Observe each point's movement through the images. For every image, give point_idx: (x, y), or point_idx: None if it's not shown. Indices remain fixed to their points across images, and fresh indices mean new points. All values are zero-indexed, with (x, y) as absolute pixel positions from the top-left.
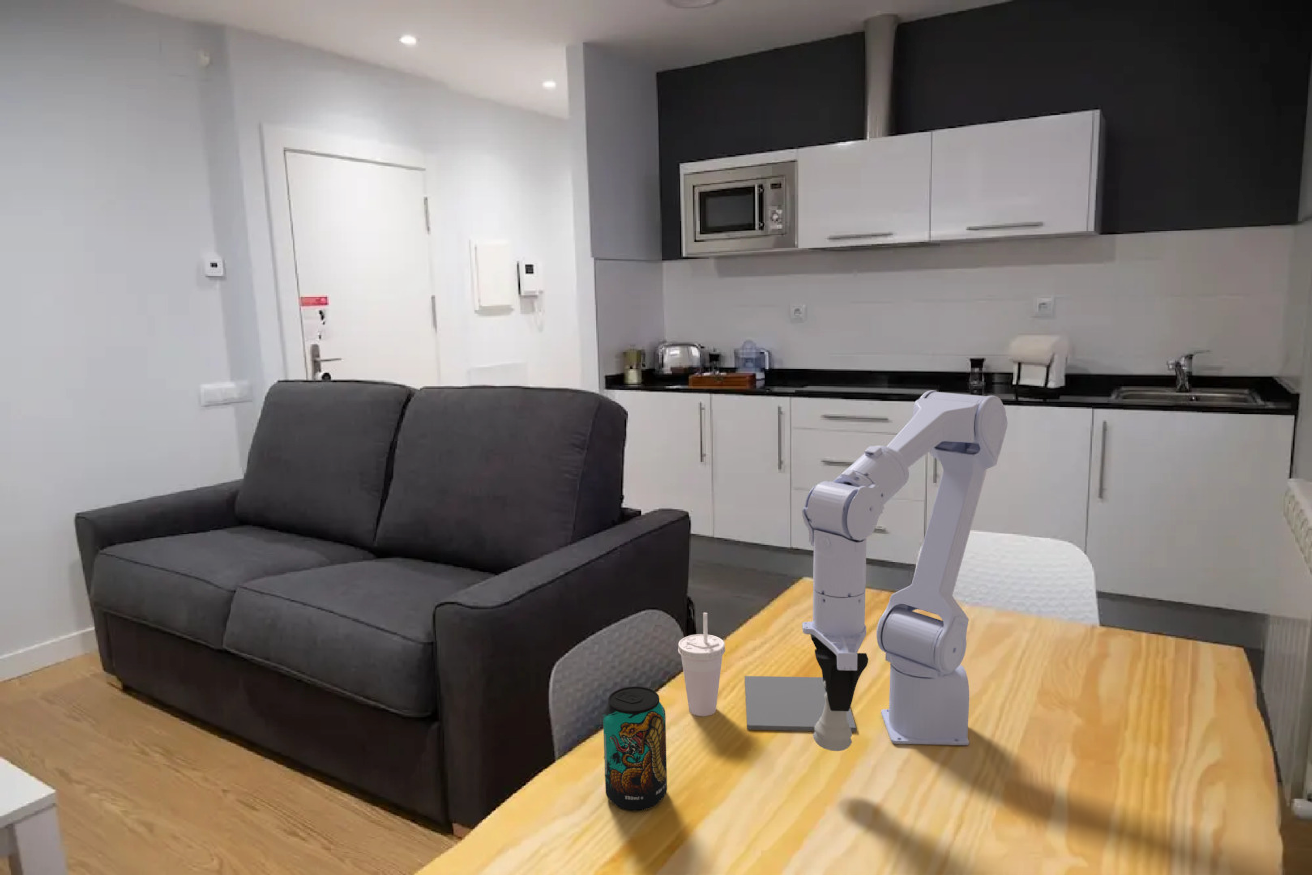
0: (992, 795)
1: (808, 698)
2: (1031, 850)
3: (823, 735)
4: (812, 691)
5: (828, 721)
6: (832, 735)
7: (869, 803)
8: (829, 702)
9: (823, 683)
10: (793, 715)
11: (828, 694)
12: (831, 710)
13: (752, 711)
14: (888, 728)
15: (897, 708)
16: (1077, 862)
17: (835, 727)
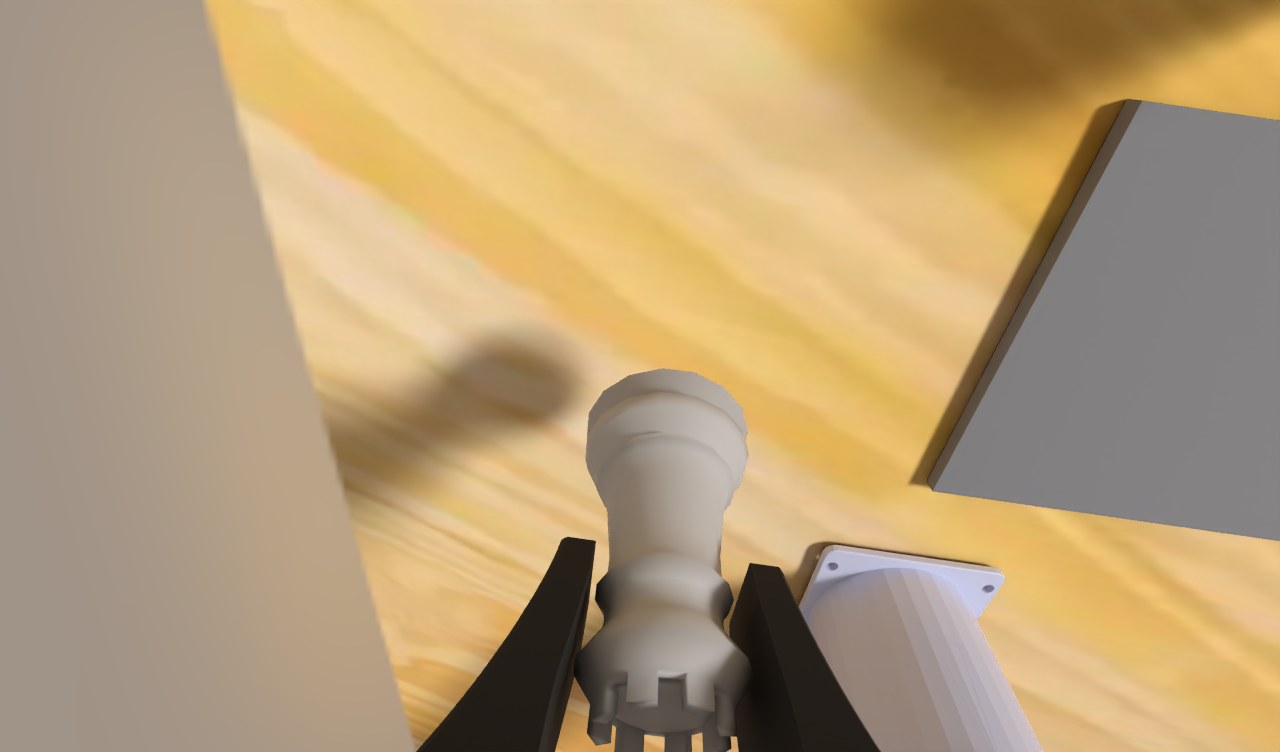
0: (586, 631)
1: (1207, 407)
2: (415, 618)
3: (610, 417)
4: (1251, 433)
5: (622, 477)
6: (594, 450)
7: (558, 410)
8: (547, 571)
9: (678, 629)
10: (1111, 325)
11: (520, 616)
12: (564, 539)
13: (1254, 152)
14: (893, 560)
15: (891, 639)
16: (394, 656)
17: (603, 484)
